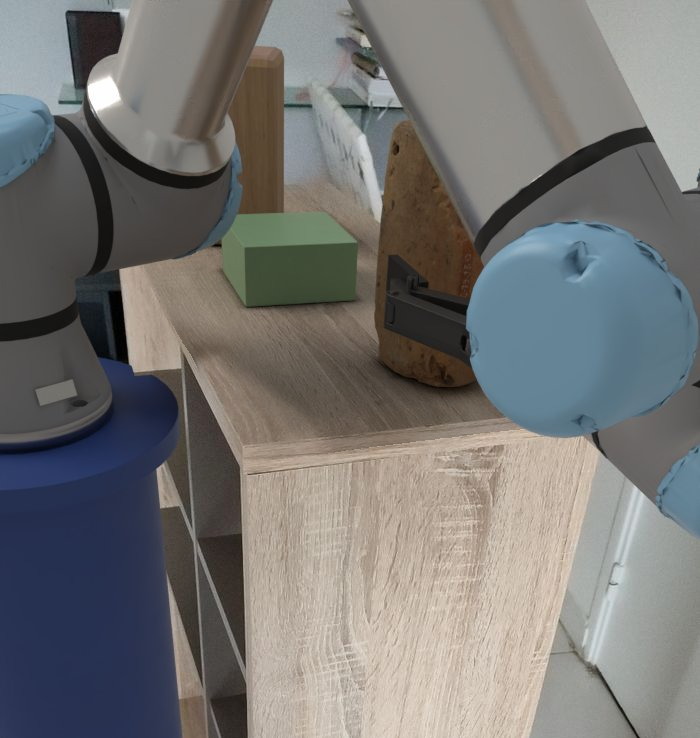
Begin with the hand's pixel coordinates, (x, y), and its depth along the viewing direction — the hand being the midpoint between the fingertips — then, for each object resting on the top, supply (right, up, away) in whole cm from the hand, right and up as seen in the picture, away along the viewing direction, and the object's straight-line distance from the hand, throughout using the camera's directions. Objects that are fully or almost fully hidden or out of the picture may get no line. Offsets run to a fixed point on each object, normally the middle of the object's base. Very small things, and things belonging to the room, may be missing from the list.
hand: (471, 268), depth 71 cm
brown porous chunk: (-2, -5, +11) cm, 13 cm away
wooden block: (-23, +20, +41) cm, 52 cm away
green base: (-17, +9, +28) cm, 34 cm away
